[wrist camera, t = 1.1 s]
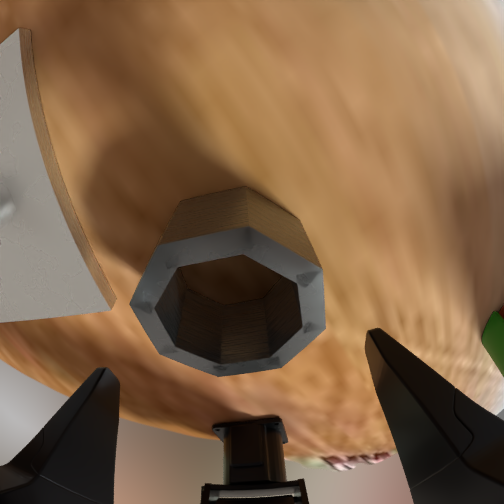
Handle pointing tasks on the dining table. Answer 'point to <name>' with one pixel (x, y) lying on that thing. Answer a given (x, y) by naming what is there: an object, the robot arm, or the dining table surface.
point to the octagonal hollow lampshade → (239, 314)
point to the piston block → (38, 208)
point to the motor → (495, 338)
